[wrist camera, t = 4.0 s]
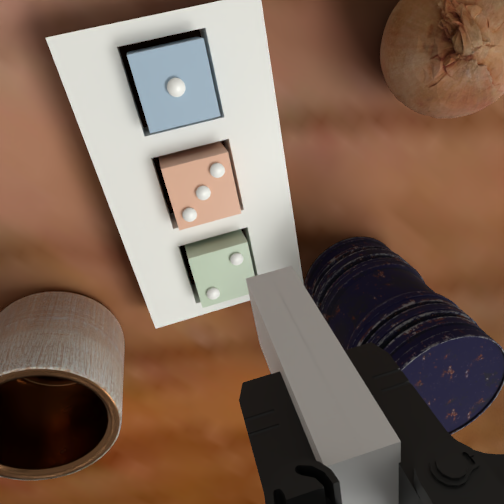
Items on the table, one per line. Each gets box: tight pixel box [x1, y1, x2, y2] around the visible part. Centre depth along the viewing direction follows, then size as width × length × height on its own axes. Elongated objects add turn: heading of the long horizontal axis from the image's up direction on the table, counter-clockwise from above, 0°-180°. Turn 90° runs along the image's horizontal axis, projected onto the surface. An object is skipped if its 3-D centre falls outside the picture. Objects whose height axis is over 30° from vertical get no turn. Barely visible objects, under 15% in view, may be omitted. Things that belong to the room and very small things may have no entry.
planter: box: [0, 291, 125, 480], centre depth 34 cm, size 11×11×10 cm
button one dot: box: [127, 37, 220, 133], centre depth 28 cm, size 5×5×3 cm
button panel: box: [46, 0, 304, 328], centre depth 33 cm, size 13×22×3 cm, turn 10°
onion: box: [380, 0, 504, 118], centre depth 30 cm, size 10×9×10 cm
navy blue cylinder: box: [304, 237, 504, 435], centre depth 36 cm, size 10×10×15 cm
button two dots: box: [185, 229, 255, 308], centre depth 35 cm, size 5×5×3 cm
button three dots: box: [158, 141, 241, 230], centre depth 32 cm, size 5×5×3 cm
